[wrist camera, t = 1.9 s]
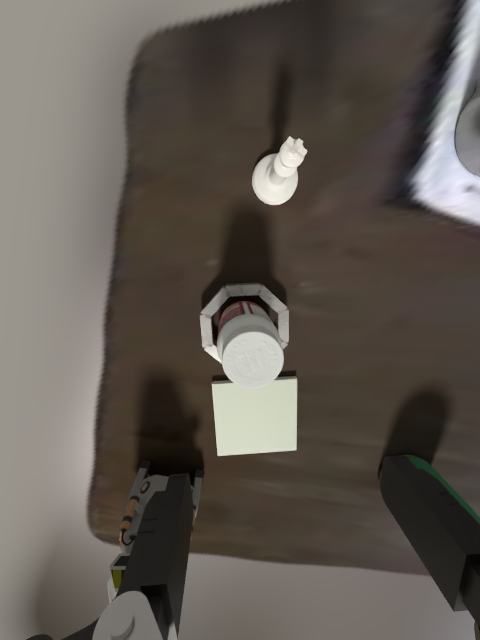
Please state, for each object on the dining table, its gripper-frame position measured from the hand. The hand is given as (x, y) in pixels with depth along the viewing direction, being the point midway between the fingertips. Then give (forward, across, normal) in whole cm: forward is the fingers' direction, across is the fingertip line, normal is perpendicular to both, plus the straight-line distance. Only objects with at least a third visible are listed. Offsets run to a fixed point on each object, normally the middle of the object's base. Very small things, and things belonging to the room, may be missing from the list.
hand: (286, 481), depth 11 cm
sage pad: (+22, 0, +12) cm, 26 cm away
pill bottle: (+22, 0, 0) cm, 23 cm away
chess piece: (+22, -4, -16) cm, 28 cm away
